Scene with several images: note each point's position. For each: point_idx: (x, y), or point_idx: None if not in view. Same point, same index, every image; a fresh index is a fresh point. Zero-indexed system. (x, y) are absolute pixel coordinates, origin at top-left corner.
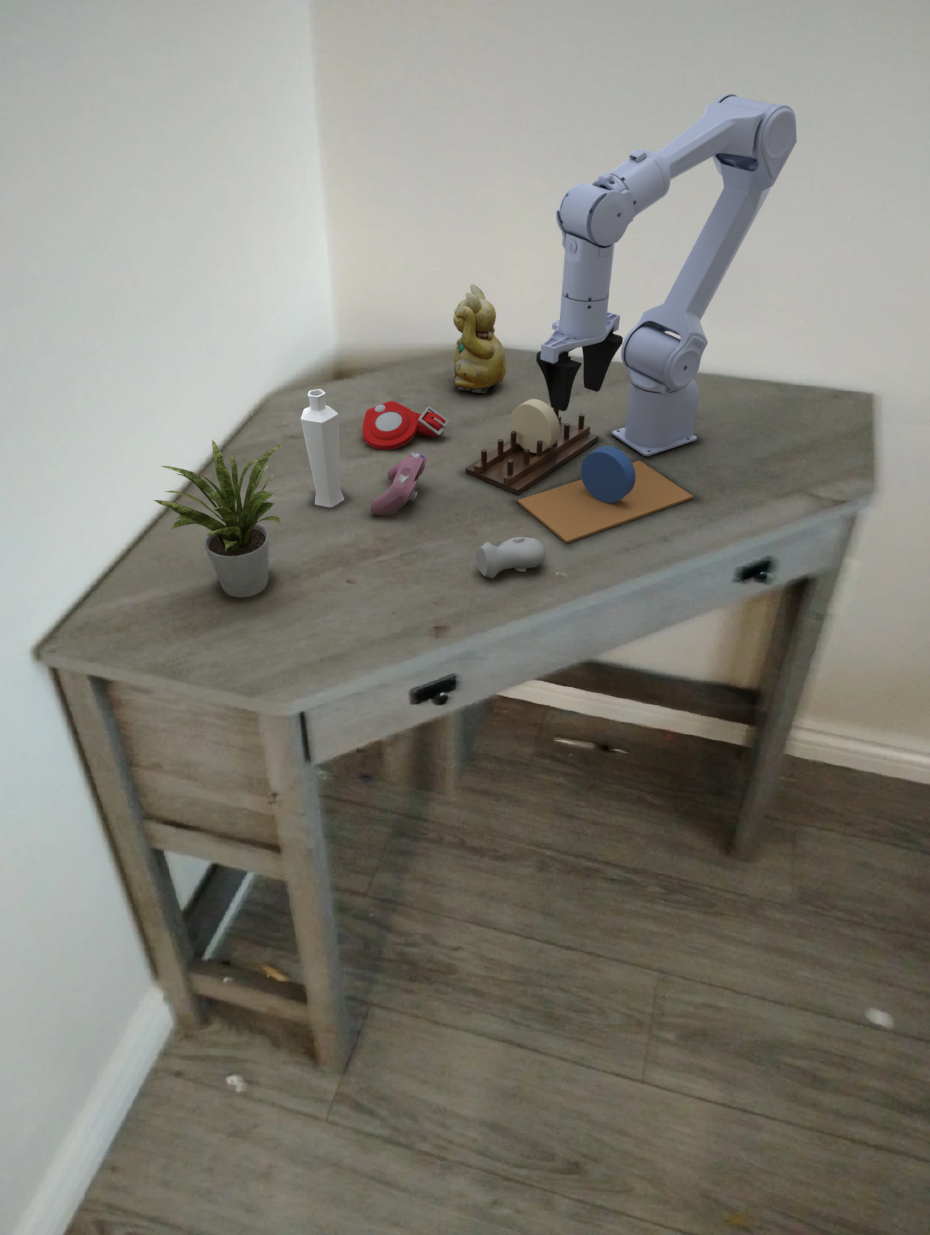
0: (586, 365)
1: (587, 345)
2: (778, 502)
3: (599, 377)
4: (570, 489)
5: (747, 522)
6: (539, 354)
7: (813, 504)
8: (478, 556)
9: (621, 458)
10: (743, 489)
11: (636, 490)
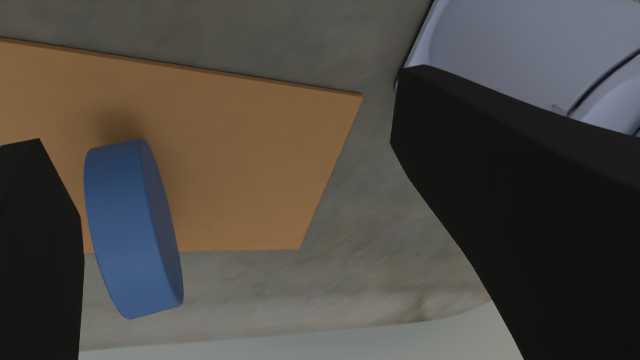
0: (495, 142)
1: (628, 260)
2: (375, 297)
3: (434, 200)
4: (74, 87)
5: (293, 315)
6: None
7: (397, 314)
8: None
9: (151, 313)
10: (382, 258)
11: (232, 186)
